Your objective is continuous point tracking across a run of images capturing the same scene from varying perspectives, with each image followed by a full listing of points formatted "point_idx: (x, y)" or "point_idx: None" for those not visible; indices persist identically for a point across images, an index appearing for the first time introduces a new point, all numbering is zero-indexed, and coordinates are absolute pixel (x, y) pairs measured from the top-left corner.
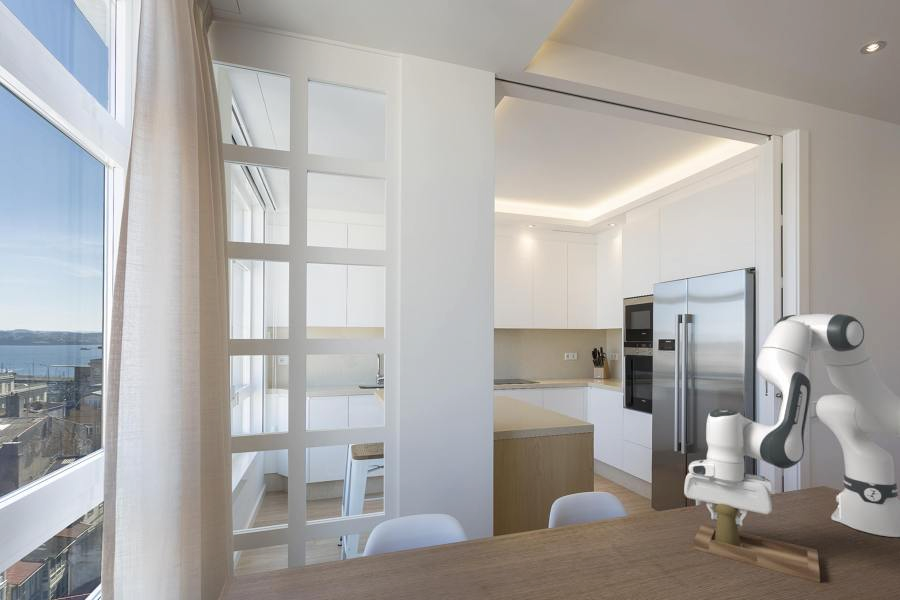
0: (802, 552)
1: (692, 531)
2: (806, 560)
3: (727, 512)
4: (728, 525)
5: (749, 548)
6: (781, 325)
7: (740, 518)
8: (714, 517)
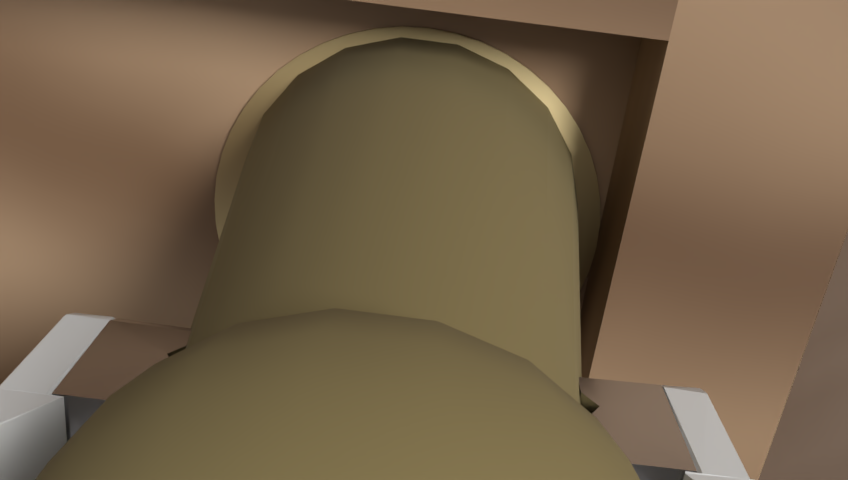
0: None
1: (804, 473)
2: None
3: (300, 345)
4: (346, 208)
5: (143, 232)
6: None
7: (10, 404)
8: (649, 406)
